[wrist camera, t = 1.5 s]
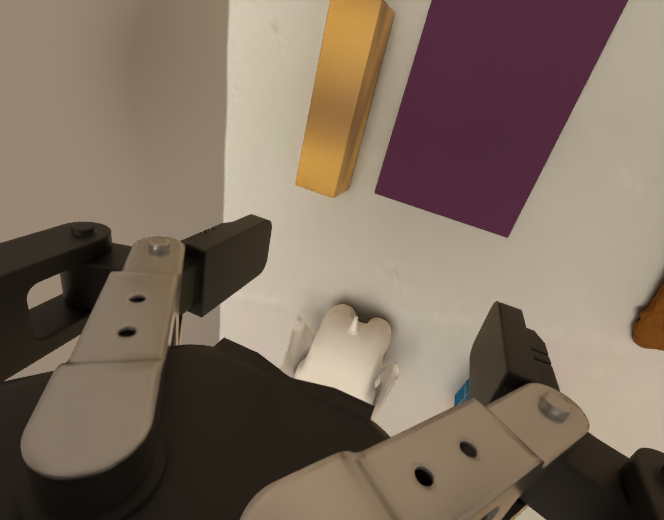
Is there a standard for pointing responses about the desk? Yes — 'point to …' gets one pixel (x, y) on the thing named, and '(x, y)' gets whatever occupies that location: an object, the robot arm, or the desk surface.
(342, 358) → the elephant figurine
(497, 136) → the cloth
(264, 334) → the desk surface
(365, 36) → the golden wooden block
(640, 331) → the primitive tool
